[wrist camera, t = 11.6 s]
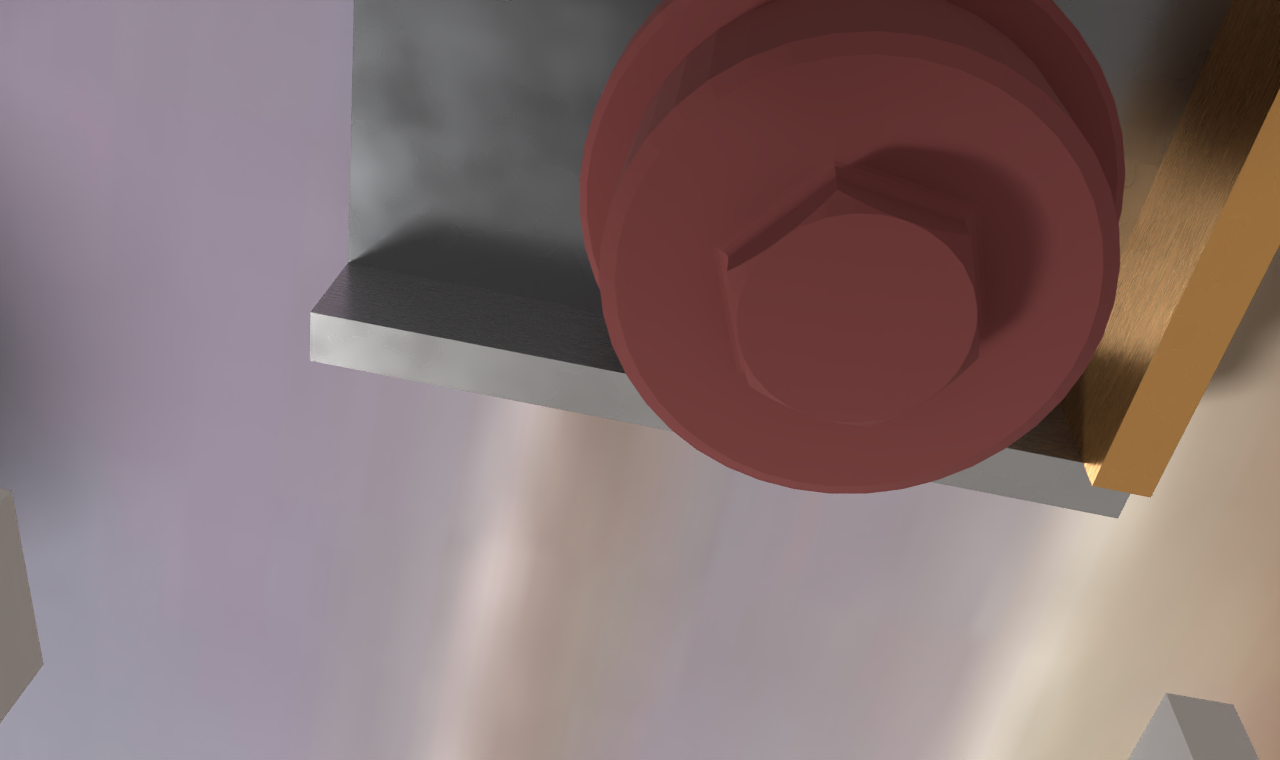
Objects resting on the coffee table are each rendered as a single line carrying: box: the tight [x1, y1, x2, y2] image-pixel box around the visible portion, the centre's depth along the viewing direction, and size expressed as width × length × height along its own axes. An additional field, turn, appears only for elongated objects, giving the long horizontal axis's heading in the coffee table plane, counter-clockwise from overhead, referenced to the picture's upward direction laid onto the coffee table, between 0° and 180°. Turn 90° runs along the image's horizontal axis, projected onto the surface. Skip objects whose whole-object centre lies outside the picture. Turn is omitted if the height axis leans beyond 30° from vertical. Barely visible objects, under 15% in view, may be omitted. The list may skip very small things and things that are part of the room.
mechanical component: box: [579, 0, 1125, 493], centre depth 23 cm, size 12×10×10 cm
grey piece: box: [310, 0, 1280, 518], centre depth 27 cm, size 22×19×5 cm
